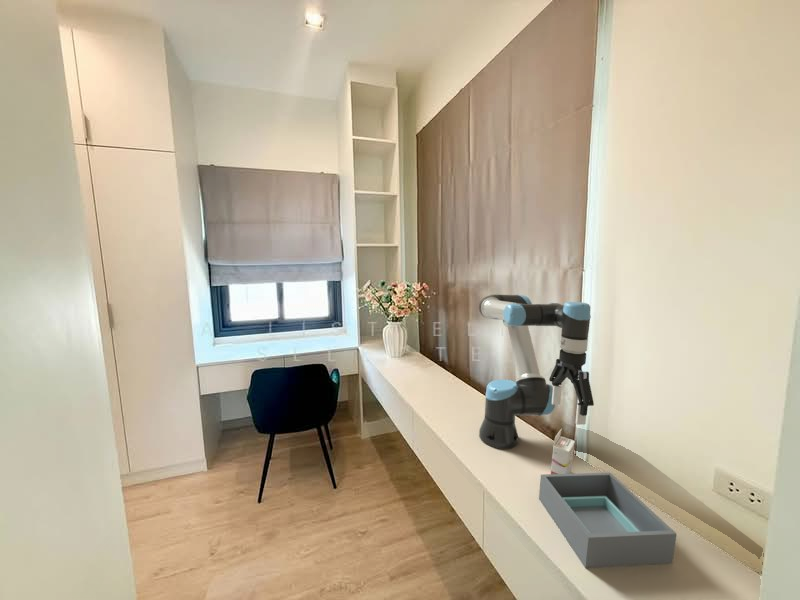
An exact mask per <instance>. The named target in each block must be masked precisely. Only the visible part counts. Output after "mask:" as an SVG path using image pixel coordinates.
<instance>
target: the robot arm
mask: <svg viewBox="0 0 800 600" xmlns="http://www.w3.org/2000/svg"><path fill="white" fill-rule="evenodd" d="M478 312H479V314H480V315H481V316H482V317H484V318H486V319H490V320H502V322H503V325H504V326H505V327H507V330H508V334H509V340H510V345H511V348H512V349H511V350H512V353H513V354H512V355H513V357H514V358H513V359H514V363H515V367H516V371H517V373H516V374H517V377H518V378H517V379H516V380H515V381H513V380H510V379H506V378H505V379H504V378H502V379H501V378H500V379H494V380H491V381H490V382H489V383H488V384H487V386H486V389H485V391H486V392H485V402H484V404H485V405H484V418H483V420H482V422H481V425H480V427H479V432H478V433H479V434H478V436H479V439H480V440H481V441H482V442H483V443H484V444H485V445H487V446H490V447H492V448H496V449H500V450H501V449H502V450H508V449H513V448H515V447H516V446H518V443H519V434H518V430H517V425H516V416H545V415H546V416H547V415H550V414H552V413H553V412H554V410H555V407H556V405H557V406H558V405H561V400H562V399H561V398H562V389H563V388H562V387H563V386H562V385H563V384H562V383H563V382H564V381H565V380H566V379H568V380H569V381H570V383H571V384H572V385H573V388H574V391H575V394H576V397H577V399H578V403H577V404H576V412H575V415H576V416H575V423H574V424H576V425H586V421H587V415H588V408H589V407H591V406H592V407H594V405H595V404H594V398H593V394H592V389H591V384H590V383H591V382H590V372H589V371H583V369H582V367H583V366H585V364H586V362H587V351H588V343H589V332H590V323H591V322H590V321H591V318H592V317H591V305H590V304H589V303H587V302H580V301H565V302H564V304H560V303H558V302H557V303H555V302H549V303H547V304H546V303H542V304H541V303H540V304H539V303H535V304H533V303H532V301H531V299H530V298H529V297H528V296H526V295H523V294H490V295H489V294H488V295H487V296H485V297H483V298H481V300H480V302H479V303H478ZM529 326H530V327H532V326H534V327H535V326H537V327H539V326H540V327H557V328H561V333H560V334H561V335H560V337H561V338H560V340H559V341H560V350H559V356H558V358H557V359H556V360H555V366H554V367H553V369H552V372H551V374H550V376H549V379H548V380H549V382H551V384H548V383H547V382H546V381H547V380H546V378H545V377H544V376H542V375H541V374H540V373H541V372H540V369H539V365H538V362H537V358H536V352H535V349H534V345H533V341H532V337H531V333H530V332H531V331H530V330H529V329H530V328H529Z"/></svg>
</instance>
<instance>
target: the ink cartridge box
mask: <svg viewBox="0 0 800 600" xmlns="http://www.w3.org/2000/svg"><path fill="white" fill-rule="evenodd" d="M562 431H563V430H562V428H561V429H560V430H559V431H558V432H557V434H556V435H555V437H554V441H553V446H552V447H553V448H552V455H551V458H552V459H551V465H550V466H551V468H550V474H572V468H573V459H574V452H575V443H576V441H575V440H573V439H570V438H568V437H565V436H561V435H562Z"/></svg>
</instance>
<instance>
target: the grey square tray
mask: <svg viewBox="0 0 800 600" xmlns="http://www.w3.org/2000/svg"><path fill="white" fill-rule="evenodd" d="M539 482H540V483H539V490H538V491H539V494H538V500H539V502H540V503H541V504H542V505H543V507H544V509H545V510H546V512H547V513H548V515H549V516H550V517H551V519H552V521H553V520H554V521H553V522H554V524H555V523H556V524H555V525H556V527H557V526H558V527H557V528H558V529H560V530H559V531H560V532H561V534H562V536H563V537H564V538H566V539H565V540H566V541H567V543H568V544H569V546H570V547H571V549H572V551H574V554H575V555H576V556H577V558H578V559H579V561H580V562H581V564H582V565H583V567H584V568H586V569H590V568H608V567H609V568H610V567H631V566H646V565H647V566H649V565H664V564H665V565H668V564H669V565H670V564H673V561H674V560H673V559H674V553H675V547H676V540H677V532H676V531H674V529H672V528H671V527H670V526H669V525H668V524H667V523H666V522H664V521H663V519H661V518H660V517H659V515H657V514H656V513H655V512H654V511H653V510H651V508H649V507H648V506H647V505H646V504H645V503H644V502H643V501H642V500H641V499H639V498H638V496H636V495H635V494H634V493H633V492H632V491H631V490H630V489H629V488H628V487H627V486H626V485H624V484H623V483H622V482H621V481H620V480H619V479H618V478H617V477H616V476H615V475H614V474H613V473H612V472H584V473H583V472H581V473H571V474H551V473H550V474H547V473H546V474H540V480H539Z"/></svg>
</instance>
